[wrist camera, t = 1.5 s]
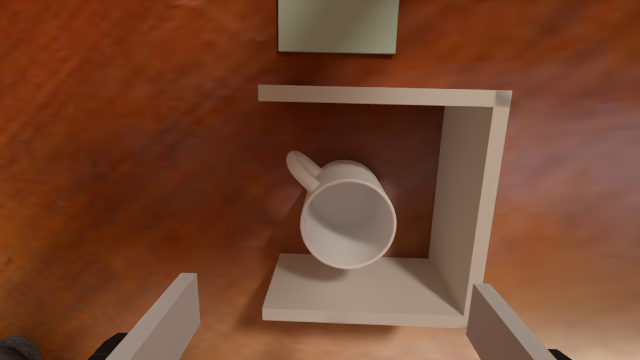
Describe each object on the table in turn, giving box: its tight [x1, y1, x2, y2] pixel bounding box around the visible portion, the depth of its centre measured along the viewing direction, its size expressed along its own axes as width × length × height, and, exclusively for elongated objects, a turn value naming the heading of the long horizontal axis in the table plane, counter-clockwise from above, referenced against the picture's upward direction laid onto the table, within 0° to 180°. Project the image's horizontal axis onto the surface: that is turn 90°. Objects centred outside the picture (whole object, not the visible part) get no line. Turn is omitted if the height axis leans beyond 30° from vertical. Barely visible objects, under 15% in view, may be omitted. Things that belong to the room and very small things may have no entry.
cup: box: [286, 151, 396, 269], centre depth 33 cm, size 8×12×10 cm
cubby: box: [258, 85, 512, 328], centre depth 33 cm, size 20×19×11 cm
